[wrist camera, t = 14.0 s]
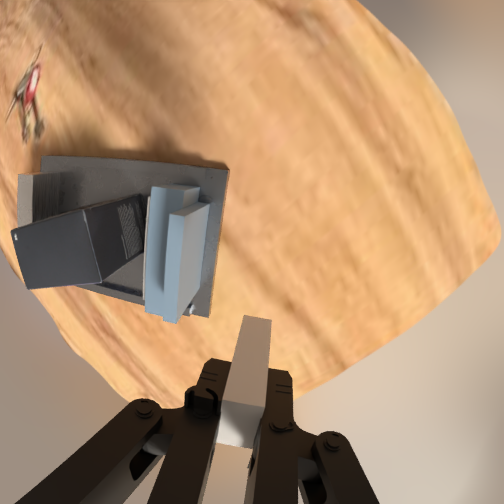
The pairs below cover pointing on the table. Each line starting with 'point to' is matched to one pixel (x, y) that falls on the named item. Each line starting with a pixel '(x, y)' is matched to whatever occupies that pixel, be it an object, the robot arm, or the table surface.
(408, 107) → the table surface
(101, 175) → the vise
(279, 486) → the robot arm
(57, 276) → the small box
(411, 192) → the table surface
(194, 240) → the sliding jaw
